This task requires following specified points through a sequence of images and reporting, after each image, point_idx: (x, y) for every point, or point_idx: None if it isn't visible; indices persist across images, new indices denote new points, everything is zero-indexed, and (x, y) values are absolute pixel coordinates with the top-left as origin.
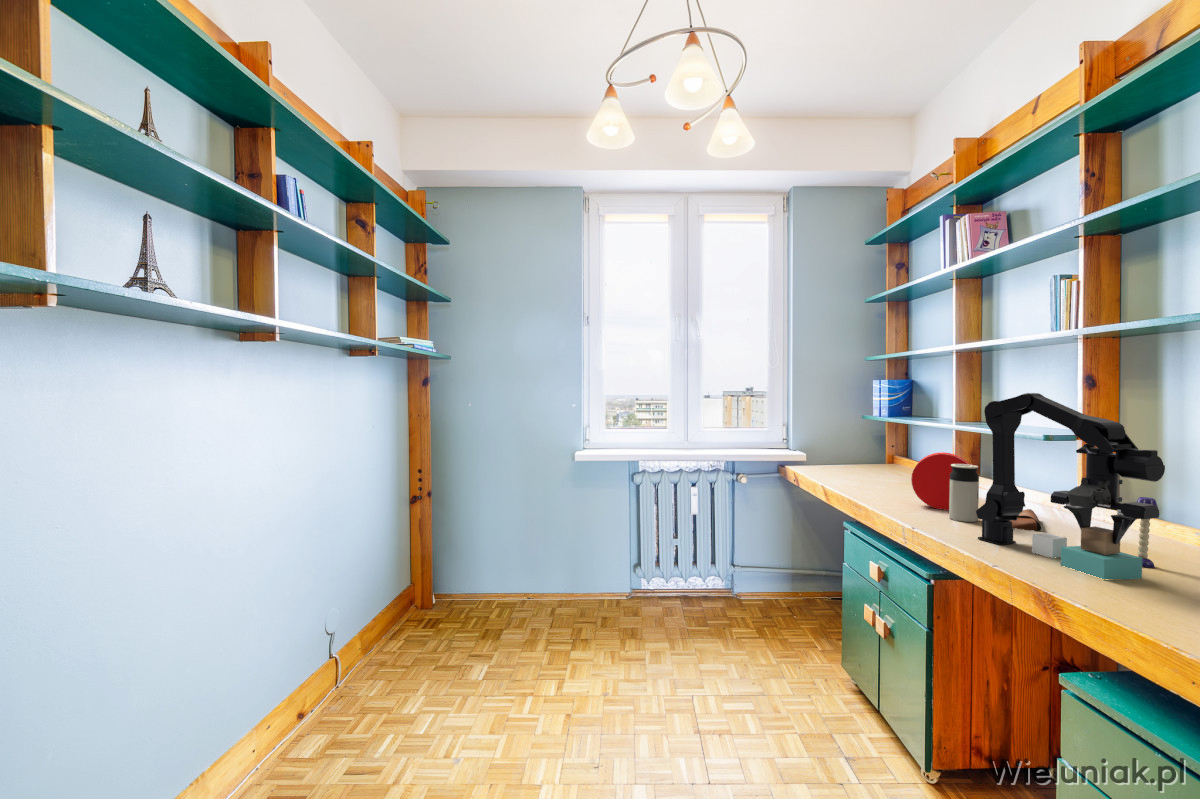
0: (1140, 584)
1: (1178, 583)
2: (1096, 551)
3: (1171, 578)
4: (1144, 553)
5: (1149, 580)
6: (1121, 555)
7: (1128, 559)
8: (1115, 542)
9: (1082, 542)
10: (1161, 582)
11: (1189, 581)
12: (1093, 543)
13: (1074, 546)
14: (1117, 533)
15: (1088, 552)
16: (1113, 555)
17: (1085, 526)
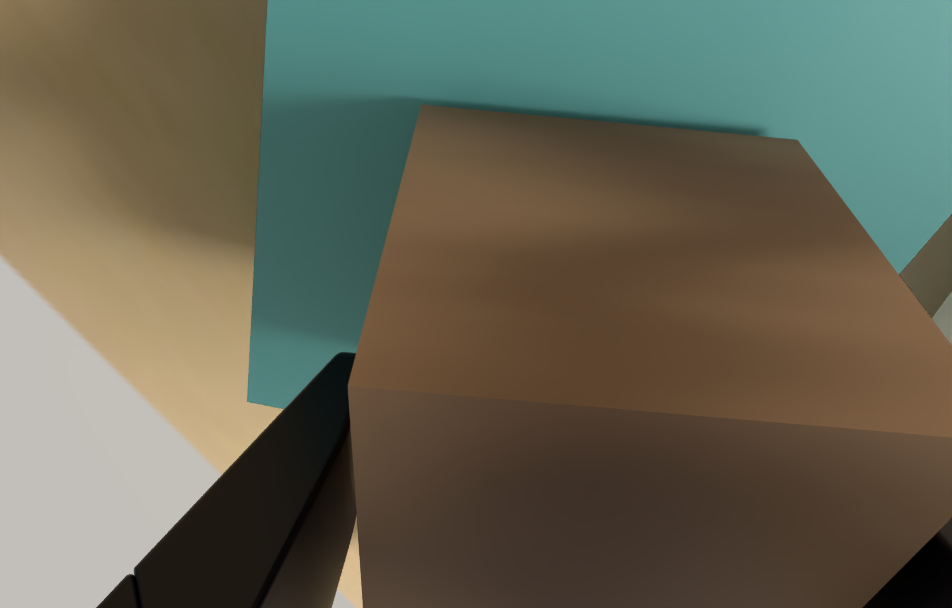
0: (164, 49)
1: (162, 354)
2: (556, 124)
3: (260, 421)
4: None
5: (251, 257)
6: None
7: (258, 251)
8: (328, 368)
9: (815, 199)
10: (195, 282)
11: (192, 441)
12: (624, 201)
13: (897, 264)
14: (192, 513)
15: (662, 87)
16: None
17: (927, 605)
